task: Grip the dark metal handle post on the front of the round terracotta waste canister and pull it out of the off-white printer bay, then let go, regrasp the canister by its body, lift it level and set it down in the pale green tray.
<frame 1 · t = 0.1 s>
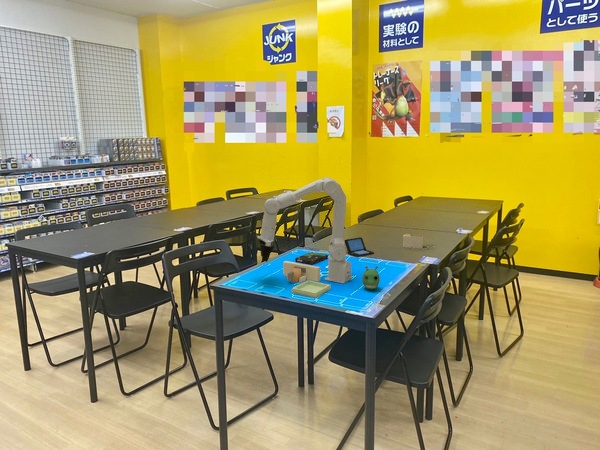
hand: (264, 258, 189), 10 cm above the table, tool pointing down, fingers open, 7 cm apart
alien toy: (370, 289, 182), on the table
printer: (299, 278, 196), on the table
tray: (311, 291, 180), on the table
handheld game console: (359, 254, 238), on the table
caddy: (295, 280, 194), on the table
disk drive: (311, 261, 225), on the table
model: (412, 248, 252), on the table
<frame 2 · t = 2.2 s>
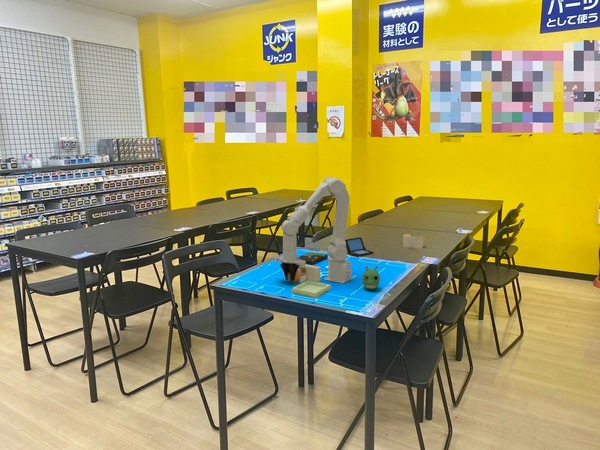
hand: (290, 279, 190), 1 cm above the table, tool pointing down, fingers closed on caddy
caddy: (295, 280, 194), on the table, touching gripper
everything else where it was.
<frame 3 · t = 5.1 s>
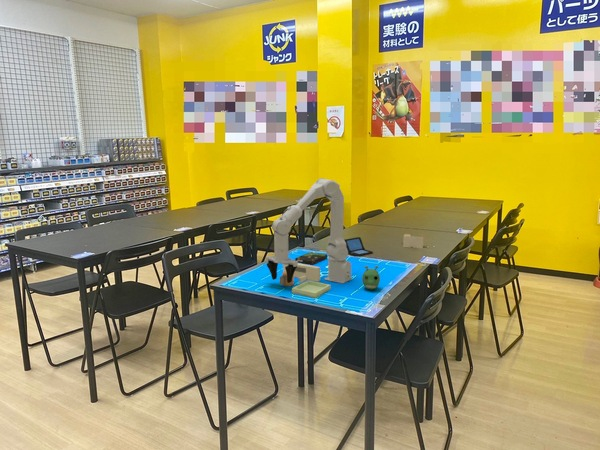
hand: (282, 280, 185), 3 cm above the table, tool pointing down, fingers open, 7 cm apart
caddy: (288, 284, 189), on the table
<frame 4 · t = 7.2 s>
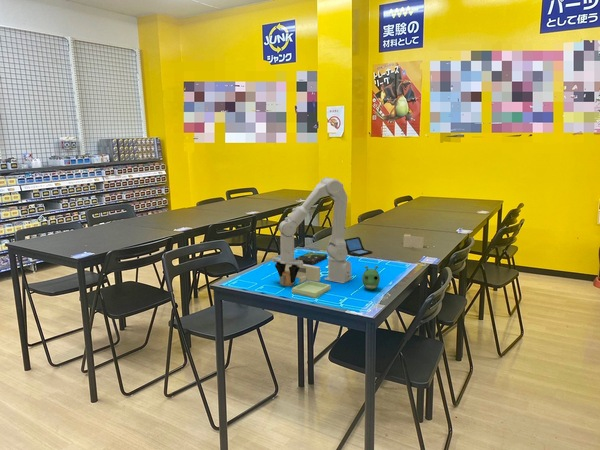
hand: (287, 281, 189), 1 cm above the table, tool pointing down, fingers closed on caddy, 5 cm apart
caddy: (288, 284, 189), on the table, touching gripper
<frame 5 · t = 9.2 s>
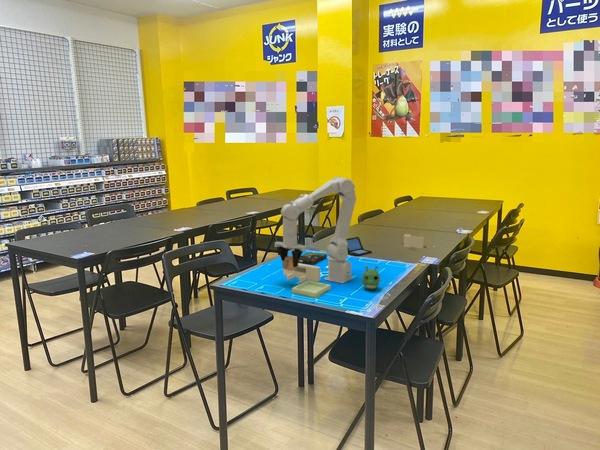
hand: (290, 265, 186), 8 cm above the table, tool pointing down, fingers closed on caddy, 5 cm apart
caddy: (290, 268, 187), point 7 cm above the table, touching gripper
when the fingers open (3 cm above the table, at t = 11.4 s): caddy drops 1 cm, resting on tray.
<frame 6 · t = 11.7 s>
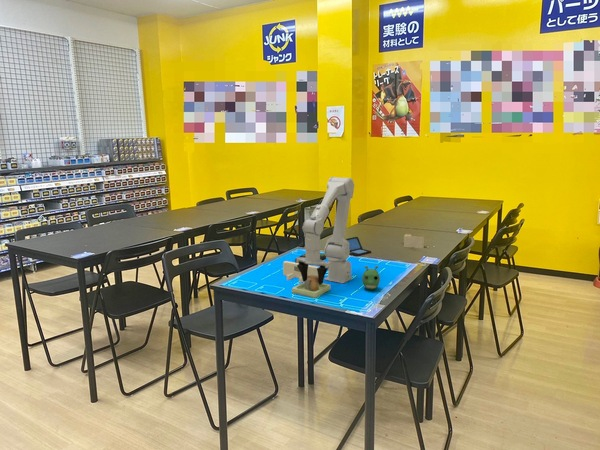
hand: (312, 282, 180), 4 cm above the table, tool pointing down, fingers open, 7 cm apart
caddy: (313, 288, 181), point 1 cm above the table, touching tray
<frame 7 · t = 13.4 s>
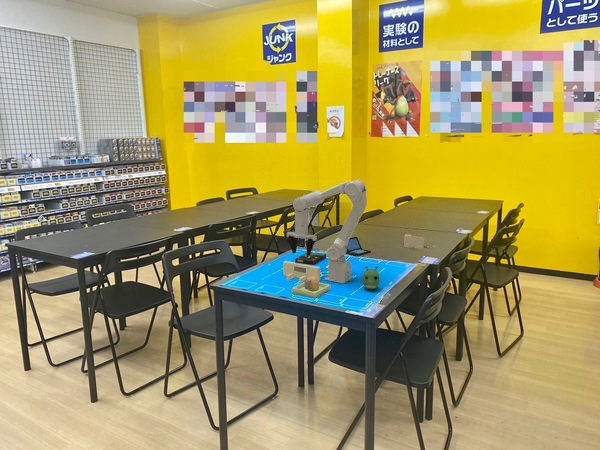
hand: (301, 254, 200), 9 cm above the table, tool pointing down, fingers open, 7 cm apart
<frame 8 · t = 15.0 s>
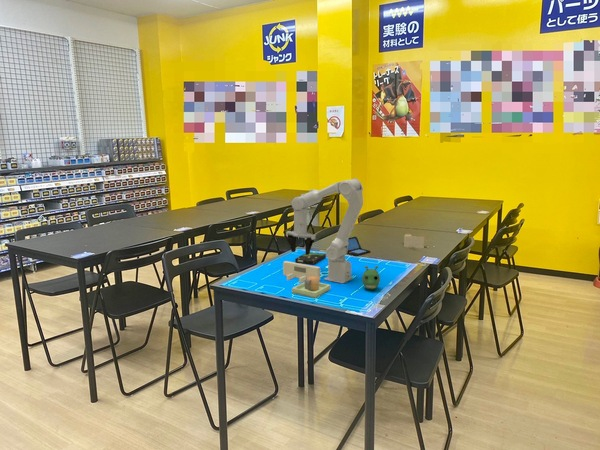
hand: (300, 253, 202), 9 cm above the table, tool pointing down, fingers open, 7 cm apart
at the end: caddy 0.6 cm off-centre on the tray, point 0.6 cm above the tray's base; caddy tilted 0°; the gripper is holding nothing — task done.
